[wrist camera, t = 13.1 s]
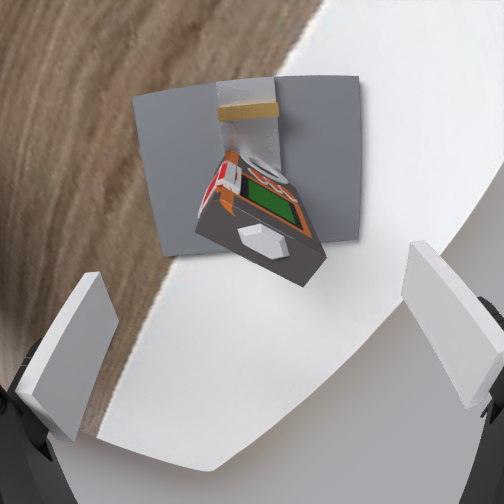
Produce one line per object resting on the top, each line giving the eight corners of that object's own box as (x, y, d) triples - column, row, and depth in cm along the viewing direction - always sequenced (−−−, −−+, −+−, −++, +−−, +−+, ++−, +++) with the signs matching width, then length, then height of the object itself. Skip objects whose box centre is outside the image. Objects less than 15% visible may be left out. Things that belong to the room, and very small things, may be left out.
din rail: (237, 249, 34) (236, 263, 32) (216, 82, 26) (213, 81, 23) (284, 245, 34) (287, 259, 31) (273, 76, 26) (275, 75, 23)
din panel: (165, 251, 35) (163, 256, 34) (136, 96, 27) (132, 97, 26) (355, 234, 35) (358, 239, 34) (354, 76, 27) (358, 76, 25)
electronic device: (293, 176, 29) (332, 255, 16) (276, 201, 31) (299, 296, 18) (230, 139, 28) (215, 190, 15) (214, 166, 29) (186, 240, 16)
